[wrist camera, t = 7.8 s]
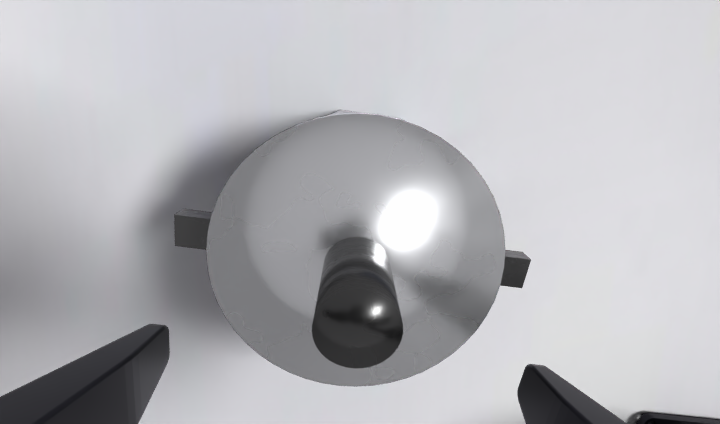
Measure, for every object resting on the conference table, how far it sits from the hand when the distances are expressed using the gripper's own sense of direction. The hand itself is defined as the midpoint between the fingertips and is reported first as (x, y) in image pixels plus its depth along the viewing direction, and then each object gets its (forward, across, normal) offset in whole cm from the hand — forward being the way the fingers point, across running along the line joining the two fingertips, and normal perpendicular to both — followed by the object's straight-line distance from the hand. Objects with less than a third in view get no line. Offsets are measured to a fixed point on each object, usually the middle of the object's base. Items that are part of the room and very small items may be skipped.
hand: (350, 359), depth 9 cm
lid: (+7, 0, 0) cm, 7 cm away
